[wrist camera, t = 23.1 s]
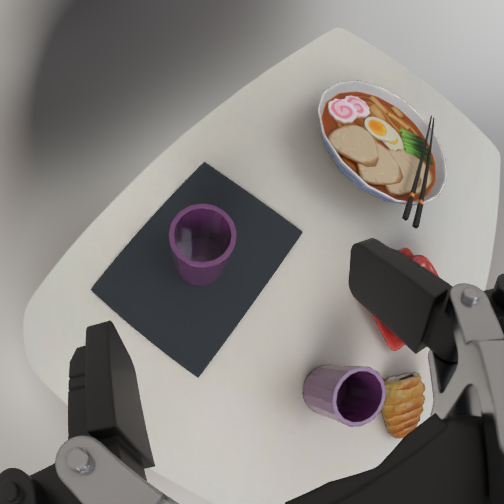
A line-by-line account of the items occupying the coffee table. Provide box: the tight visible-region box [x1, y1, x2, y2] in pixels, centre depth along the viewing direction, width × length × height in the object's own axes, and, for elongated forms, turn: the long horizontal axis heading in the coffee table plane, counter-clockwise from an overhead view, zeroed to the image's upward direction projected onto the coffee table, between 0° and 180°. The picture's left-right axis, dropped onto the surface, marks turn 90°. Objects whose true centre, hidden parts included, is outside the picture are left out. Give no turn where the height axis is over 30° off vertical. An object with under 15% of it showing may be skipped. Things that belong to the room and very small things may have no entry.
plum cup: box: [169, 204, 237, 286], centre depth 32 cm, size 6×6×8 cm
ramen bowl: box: [317, 80, 447, 228], centre depth 43 cm, size 25×23×8 cm
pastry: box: [381, 372, 425, 438], centre depth 34 cm, size 9×7×4 cm
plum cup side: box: [303, 365, 386, 427], centre depth 31 cm, size 6×6×8 cm
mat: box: [91, 162, 302, 377], centre depth 37 cm, size 22×16×1 cm
